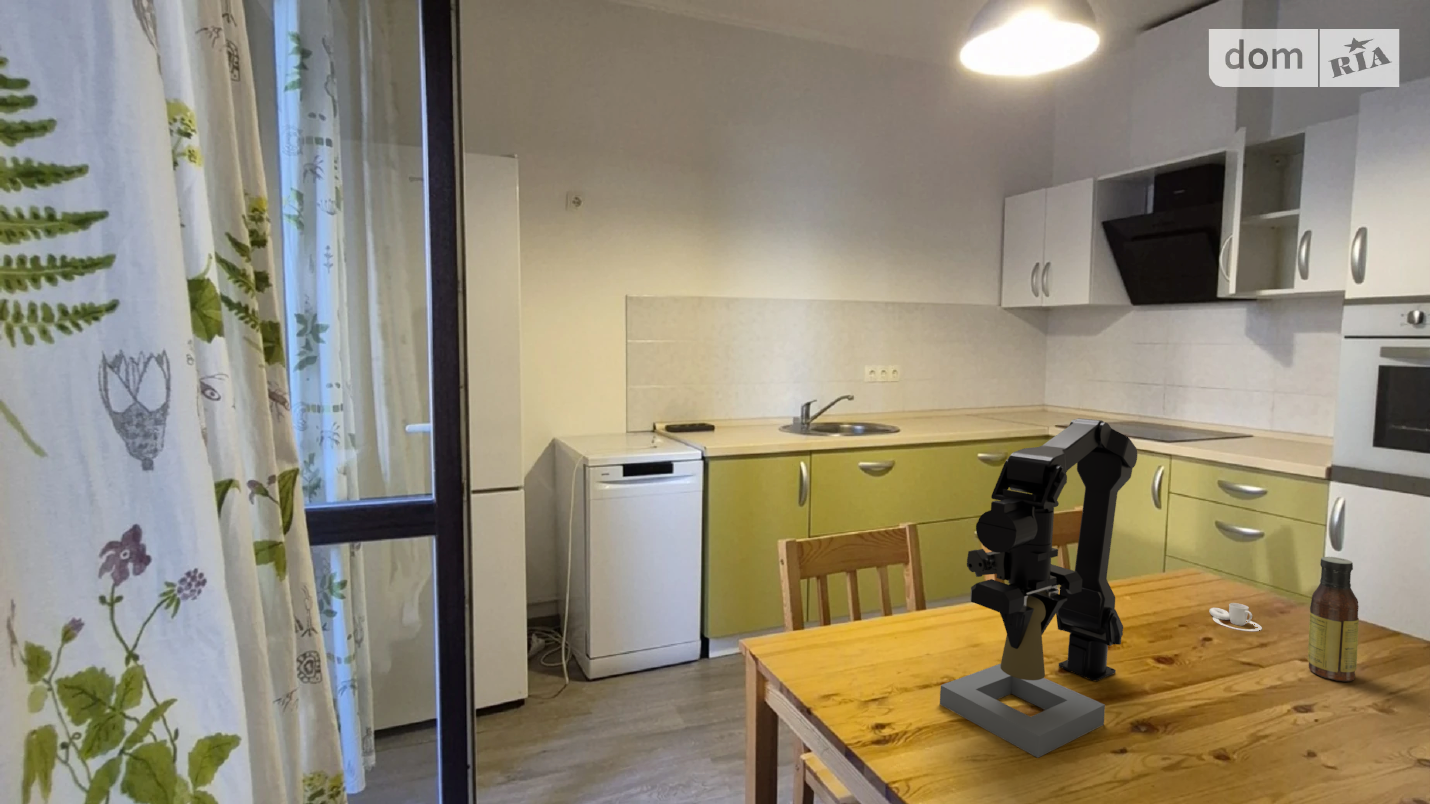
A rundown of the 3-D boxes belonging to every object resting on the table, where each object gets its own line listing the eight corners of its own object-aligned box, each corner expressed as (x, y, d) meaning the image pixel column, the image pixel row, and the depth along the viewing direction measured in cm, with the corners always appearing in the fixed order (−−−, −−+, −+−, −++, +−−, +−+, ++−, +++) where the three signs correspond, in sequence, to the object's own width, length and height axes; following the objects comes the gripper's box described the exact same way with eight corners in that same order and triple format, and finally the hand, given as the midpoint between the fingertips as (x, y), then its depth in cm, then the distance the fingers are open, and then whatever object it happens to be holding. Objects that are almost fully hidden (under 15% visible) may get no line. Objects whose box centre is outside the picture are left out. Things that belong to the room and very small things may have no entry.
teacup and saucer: (1202, 615, 146) (1203, 596, 146) (1243, 618, 145) (1245, 598, 145) (1226, 631, 138) (1228, 611, 137) (1271, 635, 137) (1273, 614, 136)
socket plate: (1005, 679, 115) (1006, 661, 115) (1103, 724, 101) (1105, 704, 101) (939, 704, 106) (940, 685, 106) (1037, 757, 93) (1039, 735, 93)
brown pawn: (1049, 682, 100) (1054, 607, 99) (1004, 677, 101) (1008, 603, 100) (1039, 663, 106) (1043, 592, 105) (996, 659, 107) (1000, 588, 106)
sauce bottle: (1346, 671, 121) (1358, 557, 119) (1361, 686, 115) (1373, 568, 113) (1298, 663, 123) (1309, 552, 122) (1311, 678, 118) (1322, 561, 116)
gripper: (1019, 519, 113) (1014, 613, 115) (941, 535, 103) (937, 638, 105) (1087, 536, 104) (1080, 638, 105) (1009, 555, 94) (1003, 667, 95)
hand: (1024, 644), depth 103 cm, fingers closed on brown pawn, 4 cm apart
